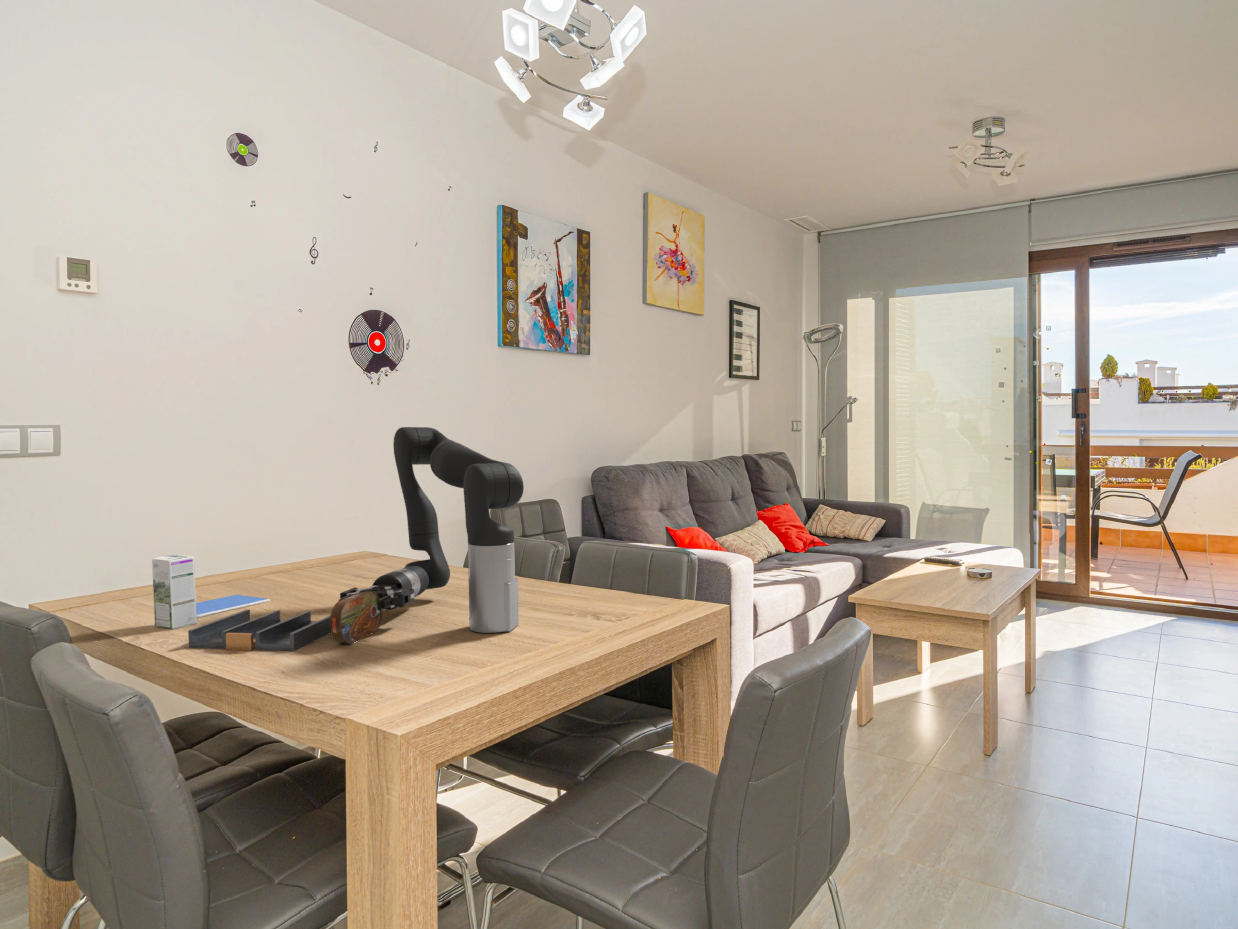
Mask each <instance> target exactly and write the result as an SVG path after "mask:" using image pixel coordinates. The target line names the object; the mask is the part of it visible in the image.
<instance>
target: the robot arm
mask: <svg viewBox="0 0 1238 929" xmlns="http://www.w3.org/2000/svg"><path fill="white" fill-rule="evenodd" d="M393 454H394V455H393V456H394V460H395V466H396V470H397V474H398V479H399V480H398V481H399V484H400V489H401V492H402V496H403V500H404V505H405V511H406V517H407V518H406V519H407V531H408V543H409V547H410V548H411V550H414V551H422V552H426V554H428V557H429V558H428V559H422V560H416V561H412V562H411V561H410V562H408V563H407V564H405V565H404V566H403V568H400V569H399V568H398V569H395V570H392V571H390V572H388V573H385V574H383V575H380V576H379V577H377V578H376V579H375V580H374V582H373V583H372V585H370V586H369V587H365V588H358V587H355V586H353V587H352V588H349V589H347V590H344V591H341V592H340V593H339V599H338V601H340V600H343V599H346V598H348V597H350V596H353V595H355V594H358V593H360V592H369V591H374V592H375V593H377V594H378V596H379V598H380V599H378V601H377V609H378V611H382V612H383V611H384V610H387V611H392V610H395V609H398V608H404V607H406V606H407V605H408V606H409V605H410V604H411V603H413V602H415V598H417V597H418V596H420V595H422V594H423V593H424V592H425V591H426V590H433V589H439V588H444V587H446V585H447V584H449V581H450V577H451V570H450V566H449V564H448V561H447V559H446V556H445V553H444V550H443V547H442V545H441V540H440V534H439V532H440V531H439V524H438V523H439V521H438V515H437V510H436V509H435V507H434V504H433V503H432V501H431V500H430V499H429V497H428V496H427V494H426V492H424V490H423V489H422V487H421V486H420V484H419V482H418V480H417V478H416V476H415V471H414V467H413V465H415V466H416V465H417V466H418V465H419V466H420V465H421V466H424V465H425V466H426V465H429V466H430V469H431V472H432V473H433V475H434V476H435V477H437V479H439V480H440V481H442V482H444V483H445V484H448V486H451V487H455V488H459V489H463V502H464V515H465V517H464V518H465V529H466V534H467V562H468V563H467V565H468V566H467V568H468V571H467V572H468V573H467V574H468V616H469V617H468V621H469V630H470V631H472V632H476V633H484V634H485V633H486V634H488V633H489V634H490V633H491V634H492V633H501V632H502V633H503V632H511V631H512V630H514V628H516V627H517V626H518V625H519V622H520V621H519V579H518V578H517V577H516V576H515V575H516V574H515V572H516V568H515V565H516V564H515V561H516V560H515V559H516V558H515V531H514V529H513V528H512V527H510V526H508V525H503V524H501V523H498V522H496V521H494V520H493V519H492V517H491V516H490V510H497V509H498V510H499V509H506V508H511V507H513V506H515V505H517V504H518V503H519V502H520V501H521V499H522V497H523V495H524V490H525V489H524V488H525V487H524V486H525V485H524V480H523V478H522V475H521V473H520V472H519V470H518V469H517V467H515V466H514V465H512V464H511V463H510V462H509V463H508V462H504V461H499V460H496V459H492V458H489V457H487V456H485V455H484V454H482V453H480V452H478V451H475V450H473V449H471V448H469V447H468V446H465V445H464V444H462V443H459V442H456V441H455V440H453V439H450V438H448V437H447V436H445V435H444V434H443V433H441V432H440V431H439V430H437V429H436V428H433V427H429V426H428V427H426V426H425V427H423V426H401V427H399V428H397V430H396V431H395V433H394V436H393ZM338 601H337V602H338Z"/></svg>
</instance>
